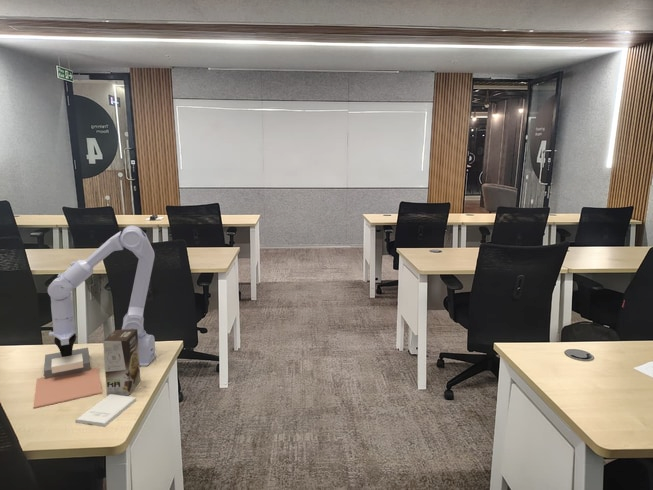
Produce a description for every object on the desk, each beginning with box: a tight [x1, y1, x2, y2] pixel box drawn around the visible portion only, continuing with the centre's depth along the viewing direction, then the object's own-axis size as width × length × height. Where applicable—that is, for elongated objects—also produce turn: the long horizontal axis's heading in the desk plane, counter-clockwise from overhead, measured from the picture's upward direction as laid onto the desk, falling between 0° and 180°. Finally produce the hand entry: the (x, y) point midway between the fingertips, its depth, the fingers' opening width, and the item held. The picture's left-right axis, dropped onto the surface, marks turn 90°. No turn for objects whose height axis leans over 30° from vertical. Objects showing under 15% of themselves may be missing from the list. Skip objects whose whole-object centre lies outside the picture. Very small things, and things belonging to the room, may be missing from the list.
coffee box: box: [102, 329, 141, 397], centre depth 123 cm, size 9×6×16 cm
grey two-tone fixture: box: [43, 347, 92, 379], centre depth 137 cm, size 13×12×3 cm
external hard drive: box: [74, 394, 137, 428], centre depth 113 cm, size 2×8×12 cm
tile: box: [51, 354, 83, 373], centre depth 131 cm, size 6×8×2 cm
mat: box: [32, 366, 103, 409], centre depth 125 cm, size 18×16×1 cm
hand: (67, 359), depth 134 cm, fingers closed
